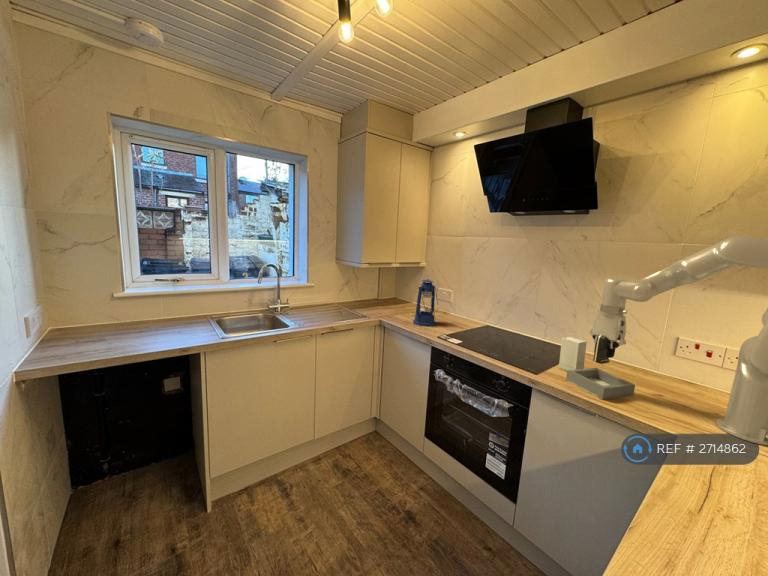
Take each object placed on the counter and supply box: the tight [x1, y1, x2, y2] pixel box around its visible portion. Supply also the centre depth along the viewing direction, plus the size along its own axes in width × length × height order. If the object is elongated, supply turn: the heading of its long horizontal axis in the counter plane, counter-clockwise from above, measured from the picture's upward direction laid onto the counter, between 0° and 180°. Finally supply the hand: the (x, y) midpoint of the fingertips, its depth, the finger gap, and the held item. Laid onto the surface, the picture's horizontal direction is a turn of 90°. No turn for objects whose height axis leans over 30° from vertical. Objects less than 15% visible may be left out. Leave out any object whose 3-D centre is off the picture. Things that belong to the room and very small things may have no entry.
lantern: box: [412, 279, 439, 327], centre depth 205 cm, size 17×15×30 cm
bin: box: [565, 367, 636, 400], centre depth 124 cm, size 16×16×4 cm
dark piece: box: [592, 335, 610, 365], centre depth 121 cm, size 7×4×11 cm, turn 115°
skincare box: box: [558, 336, 588, 372], centre depth 139 cm, size 8×6×15 cm
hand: (603, 354), depth 122 cm, fingers closed on dark piece, 4 cm apart
